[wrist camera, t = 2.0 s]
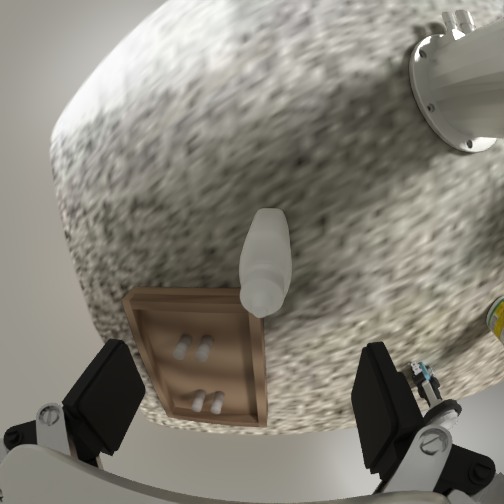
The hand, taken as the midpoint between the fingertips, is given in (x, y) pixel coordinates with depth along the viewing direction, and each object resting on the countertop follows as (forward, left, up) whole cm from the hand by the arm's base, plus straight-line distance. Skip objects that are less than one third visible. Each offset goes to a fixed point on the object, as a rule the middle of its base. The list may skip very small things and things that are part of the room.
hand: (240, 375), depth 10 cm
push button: (+19, +20, -16) cm, 32 cm away
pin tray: (+15, -8, -16) cm, 23 cm away
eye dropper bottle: (0, 0, -16) cm, 16 cm away
